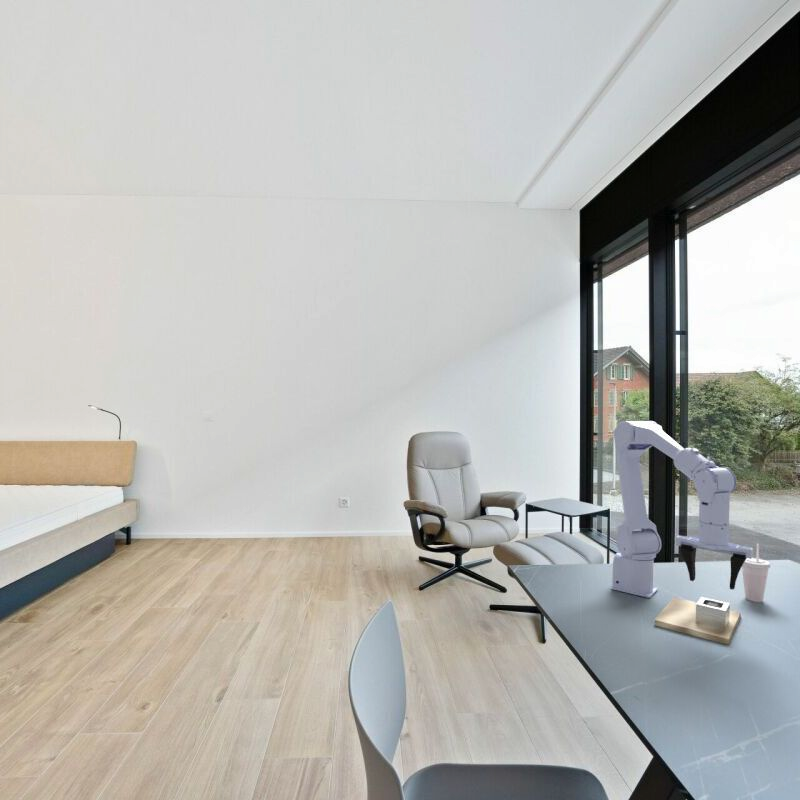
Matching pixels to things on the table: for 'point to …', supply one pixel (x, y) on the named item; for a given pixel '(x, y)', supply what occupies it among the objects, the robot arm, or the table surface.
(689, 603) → the post board
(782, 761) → the table surface
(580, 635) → the table surface
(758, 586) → the smoothie
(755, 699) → the table surface
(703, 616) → the steel collar
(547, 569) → the table surface
